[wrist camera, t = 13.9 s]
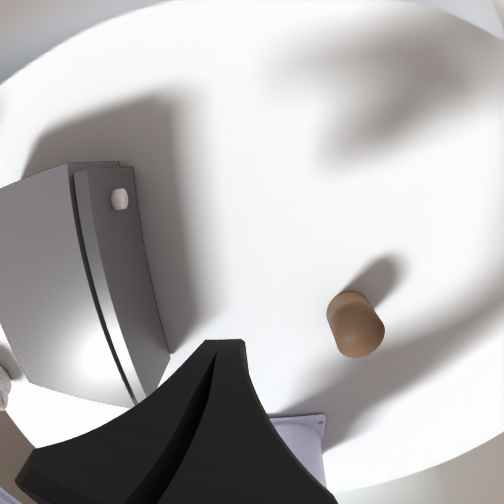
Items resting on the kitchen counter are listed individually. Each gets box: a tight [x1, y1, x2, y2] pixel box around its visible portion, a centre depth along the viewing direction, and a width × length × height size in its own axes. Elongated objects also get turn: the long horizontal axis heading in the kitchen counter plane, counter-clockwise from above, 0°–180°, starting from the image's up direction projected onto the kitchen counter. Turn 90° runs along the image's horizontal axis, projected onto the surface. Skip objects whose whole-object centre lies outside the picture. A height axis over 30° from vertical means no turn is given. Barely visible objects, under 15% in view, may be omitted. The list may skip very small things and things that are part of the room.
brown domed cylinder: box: [327, 291, 385, 358], centre depth 18 cm, size 3×3×4 cm
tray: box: [74, 167, 170, 403], centre depth 17 cm, size 15×12×5 cm
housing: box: [0, 161, 138, 408], centre depth 17 cm, size 16×12×6 cm
